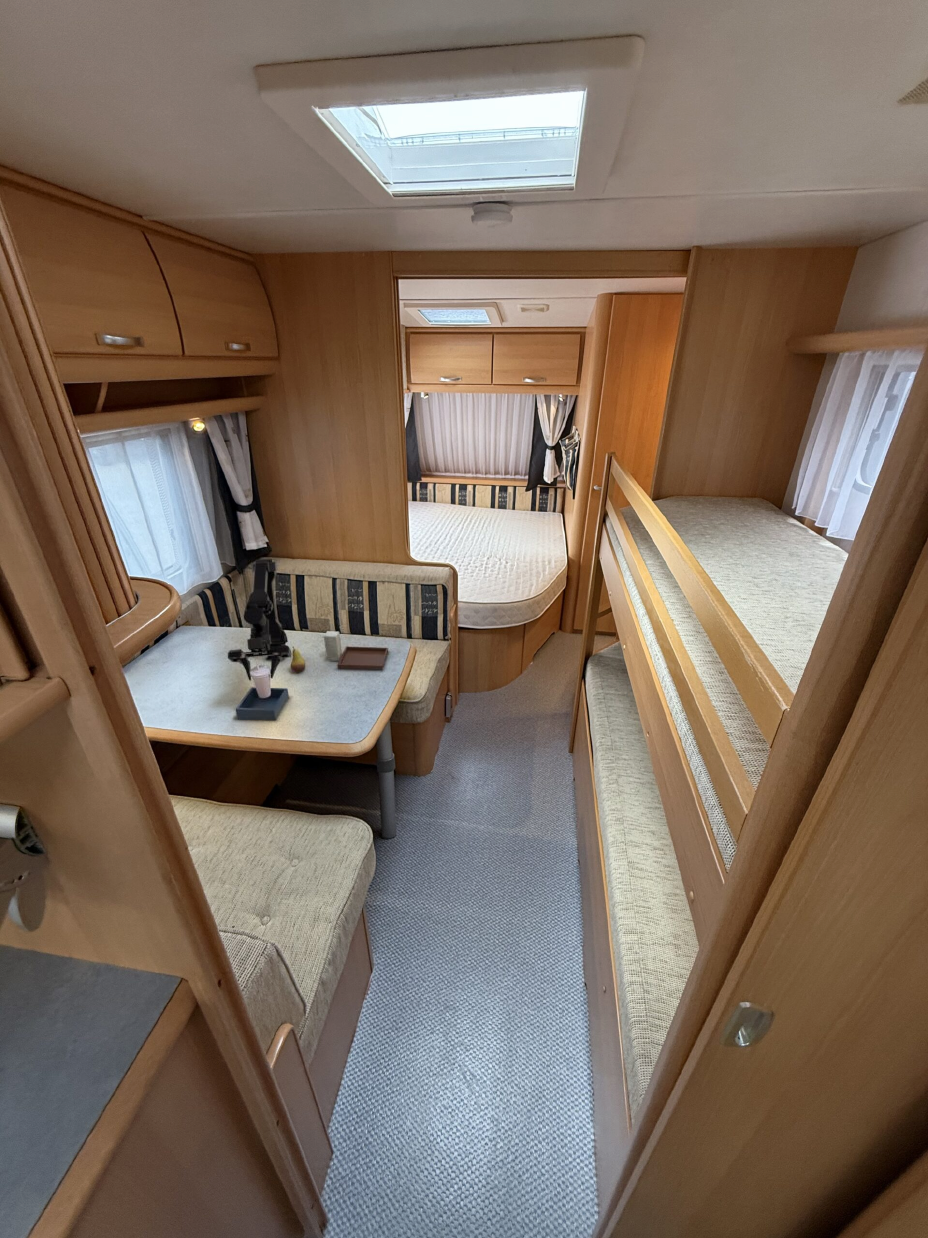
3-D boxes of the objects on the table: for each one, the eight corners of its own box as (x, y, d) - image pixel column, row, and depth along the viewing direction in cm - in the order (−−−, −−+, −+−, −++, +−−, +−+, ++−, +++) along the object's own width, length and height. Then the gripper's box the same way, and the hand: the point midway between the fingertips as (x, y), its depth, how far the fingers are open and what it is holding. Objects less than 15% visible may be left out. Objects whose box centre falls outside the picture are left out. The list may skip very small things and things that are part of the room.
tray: (337, 669, 189) (337, 664, 188) (346, 650, 202) (346, 646, 201) (382, 670, 189) (382, 665, 188) (388, 652, 201) (388, 647, 200)
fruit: (309, 669, 188) (306, 642, 183) (297, 676, 184) (293, 648, 178) (300, 665, 191) (296, 637, 186) (288, 671, 187) (283, 643, 181)
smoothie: (257, 689, 166) (250, 654, 160) (276, 688, 167) (270, 653, 161) (252, 701, 161) (244, 664, 154) (272, 700, 161) (265, 663, 155)
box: (342, 655, 198) (340, 631, 193) (339, 661, 194) (336, 636, 189) (329, 655, 198) (327, 630, 193) (326, 660, 194) (323, 635, 190)
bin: (237, 719, 160) (235, 709, 158) (253, 696, 171) (251, 687, 170) (275, 720, 160) (274, 710, 158) (289, 697, 171) (287, 688, 170)
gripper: (223, 628, 155) (223, 677, 150) (285, 623, 159) (287, 671, 154) (232, 638, 165) (232, 684, 160) (290, 633, 169) (292, 678, 164)
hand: (260, 679), depth 159 cm, fingers closed on smoothie, 6 cm apart
